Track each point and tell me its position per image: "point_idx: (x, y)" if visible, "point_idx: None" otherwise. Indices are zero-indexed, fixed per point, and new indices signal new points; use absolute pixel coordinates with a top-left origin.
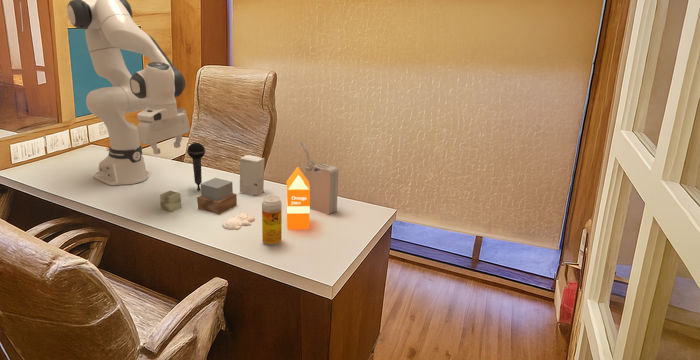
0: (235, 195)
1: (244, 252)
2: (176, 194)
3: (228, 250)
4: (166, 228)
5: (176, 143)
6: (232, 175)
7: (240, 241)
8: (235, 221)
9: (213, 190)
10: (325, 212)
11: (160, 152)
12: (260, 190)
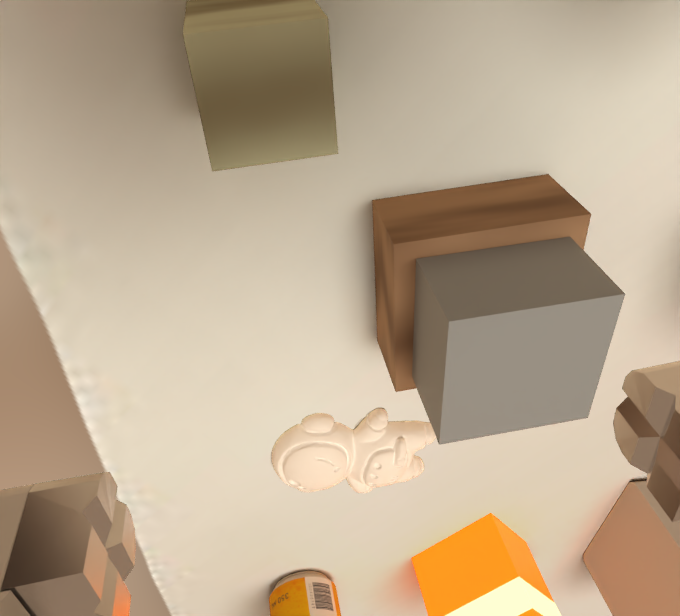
0: None
1: (182, 590)
2: (295, 156)
3: (150, 563)
4: (48, 289)
5: (677, 500)
6: None
7: (231, 543)
8: (319, 489)
9: (433, 399)
10: (589, 552)
11: (132, 554)
12: None
